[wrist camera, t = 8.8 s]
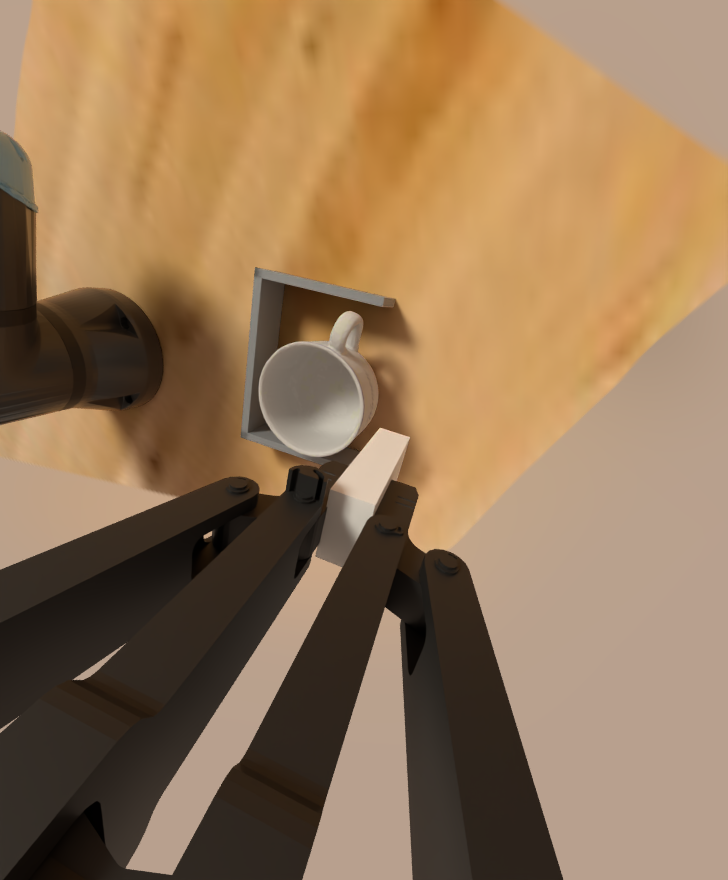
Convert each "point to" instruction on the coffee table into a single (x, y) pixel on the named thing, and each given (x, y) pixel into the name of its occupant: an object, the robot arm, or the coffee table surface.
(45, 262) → the coffee table surface
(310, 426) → the teacup
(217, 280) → the coffee table surface
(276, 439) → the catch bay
